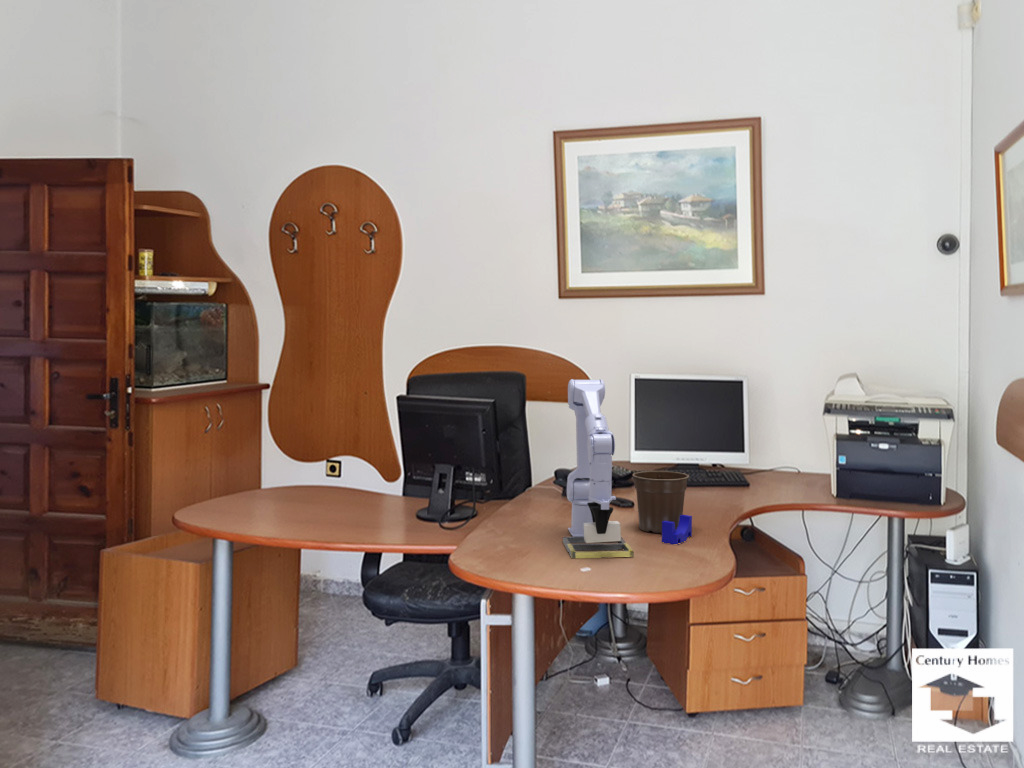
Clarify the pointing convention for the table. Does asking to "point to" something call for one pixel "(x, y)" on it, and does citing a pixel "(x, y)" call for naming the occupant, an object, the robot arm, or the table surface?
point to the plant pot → (659, 498)
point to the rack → (596, 548)
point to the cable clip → (677, 530)
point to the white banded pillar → (610, 535)
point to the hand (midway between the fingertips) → (599, 531)
